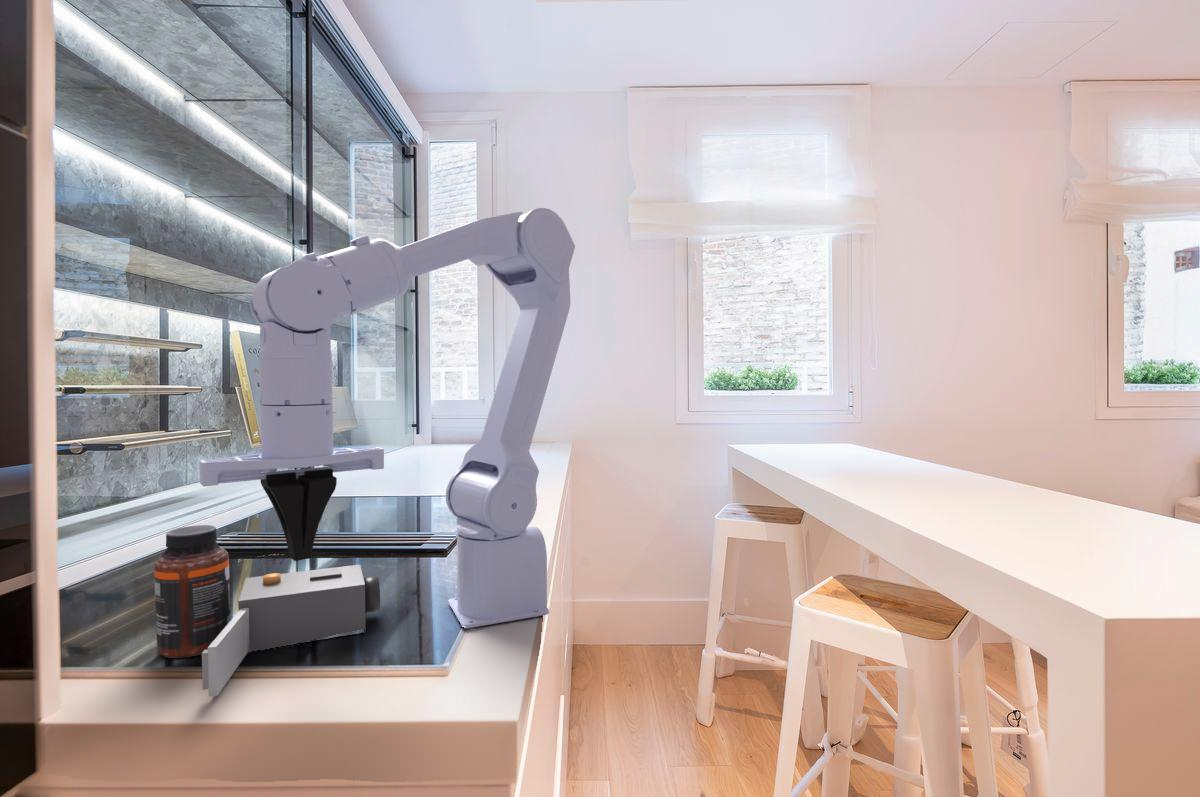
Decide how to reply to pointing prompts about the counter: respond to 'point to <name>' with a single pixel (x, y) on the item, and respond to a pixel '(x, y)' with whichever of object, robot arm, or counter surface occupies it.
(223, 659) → the side door
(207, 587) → the supplement bottle
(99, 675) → the counter surface
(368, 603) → the block
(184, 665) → the counter surface
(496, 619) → the robot arm
